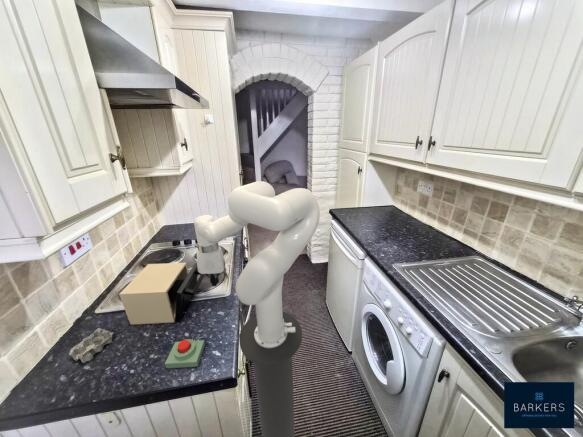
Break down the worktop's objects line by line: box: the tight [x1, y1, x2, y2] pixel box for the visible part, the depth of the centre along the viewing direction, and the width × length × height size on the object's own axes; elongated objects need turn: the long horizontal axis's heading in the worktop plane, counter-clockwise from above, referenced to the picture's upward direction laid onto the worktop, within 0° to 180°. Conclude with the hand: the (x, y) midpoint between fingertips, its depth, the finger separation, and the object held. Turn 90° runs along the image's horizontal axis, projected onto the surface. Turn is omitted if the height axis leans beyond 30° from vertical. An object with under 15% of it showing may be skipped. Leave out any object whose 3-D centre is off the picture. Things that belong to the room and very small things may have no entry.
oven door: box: [174, 262, 206, 323], centre depth 98 cm, size 6×20×15 cm, turn 3°
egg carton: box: [68, 327, 114, 364], centre depth 80 cm, size 11×8×4 cm
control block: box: [164, 338, 206, 369], centre depth 76 cm, size 10×8×4 cm
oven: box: [118, 262, 189, 325], centre depth 97 cm, size 17×20×15 cm
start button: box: [178, 339, 190, 353], centre depth 75 cm, size 4×4×2 cm
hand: (215, 284), depth 97 cm, fingers closed
